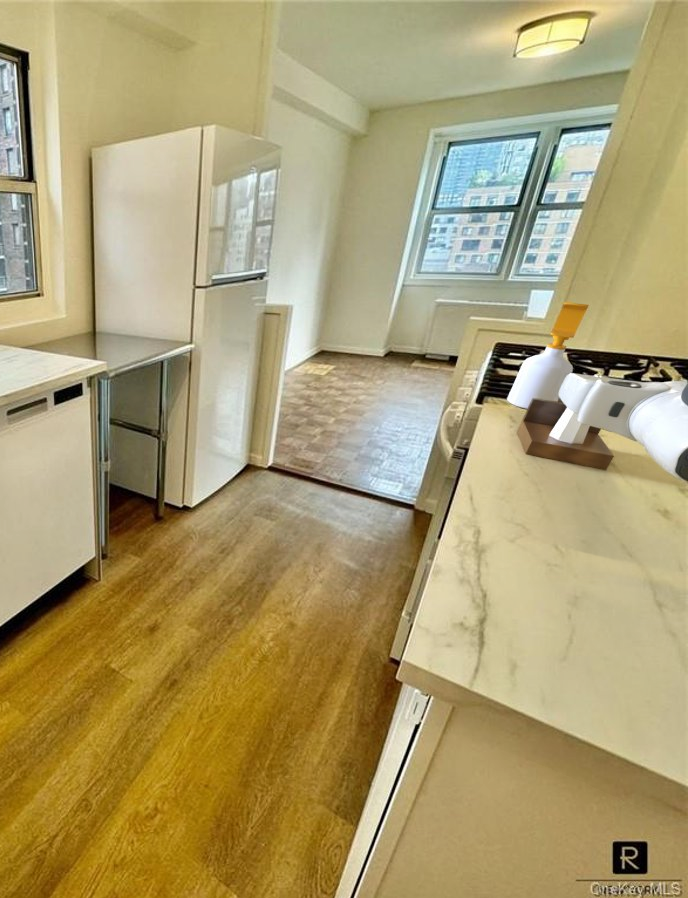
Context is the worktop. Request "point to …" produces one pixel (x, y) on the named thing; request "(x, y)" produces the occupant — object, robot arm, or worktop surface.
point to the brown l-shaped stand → (541, 444)
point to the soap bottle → (548, 362)
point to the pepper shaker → (569, 428)
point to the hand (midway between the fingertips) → (637, 384)
